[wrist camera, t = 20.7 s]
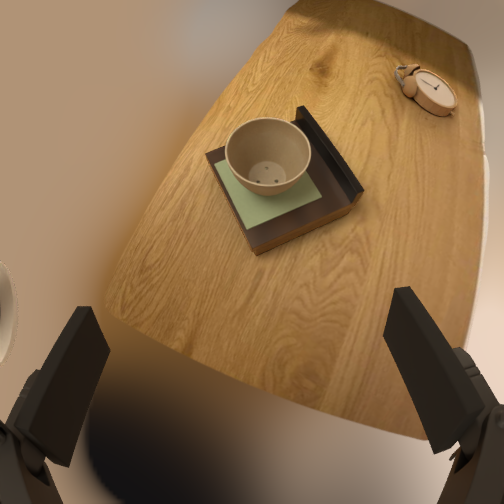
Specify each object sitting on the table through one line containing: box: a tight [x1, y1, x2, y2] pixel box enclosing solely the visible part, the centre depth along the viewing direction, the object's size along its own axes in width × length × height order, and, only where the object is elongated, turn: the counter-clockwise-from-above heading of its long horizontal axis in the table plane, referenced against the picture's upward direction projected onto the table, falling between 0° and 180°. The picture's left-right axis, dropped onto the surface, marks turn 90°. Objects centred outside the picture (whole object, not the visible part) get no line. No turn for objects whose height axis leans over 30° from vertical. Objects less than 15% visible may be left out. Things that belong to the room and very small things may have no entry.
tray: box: [205, 105, 364, 256], centre depth 42 cm, size 16×16×7 cm
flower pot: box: [225, 117, 311, 196], centre depth 38 cm, size 10×10×7 cm
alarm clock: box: [394, 64, 457, 116], centre depth 50 cm, size 11×5×15 cm
